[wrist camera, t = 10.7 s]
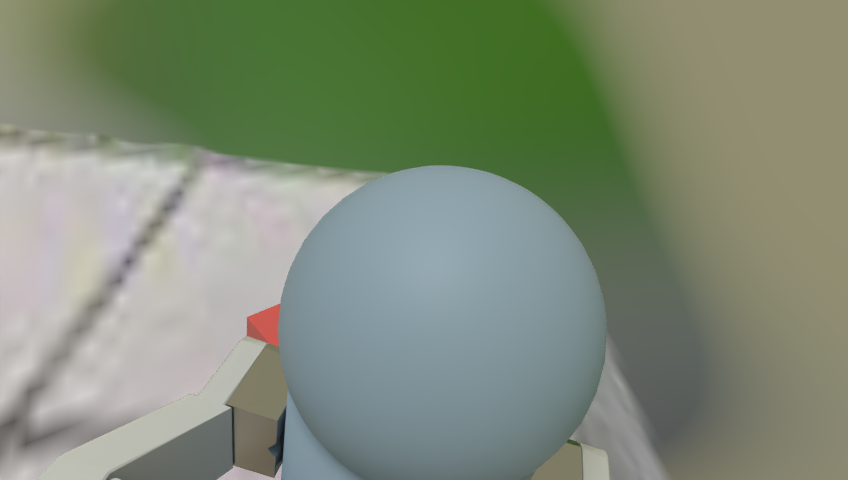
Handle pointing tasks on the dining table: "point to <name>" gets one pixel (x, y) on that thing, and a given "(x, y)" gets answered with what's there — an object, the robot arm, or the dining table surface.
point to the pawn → (437, 333)
